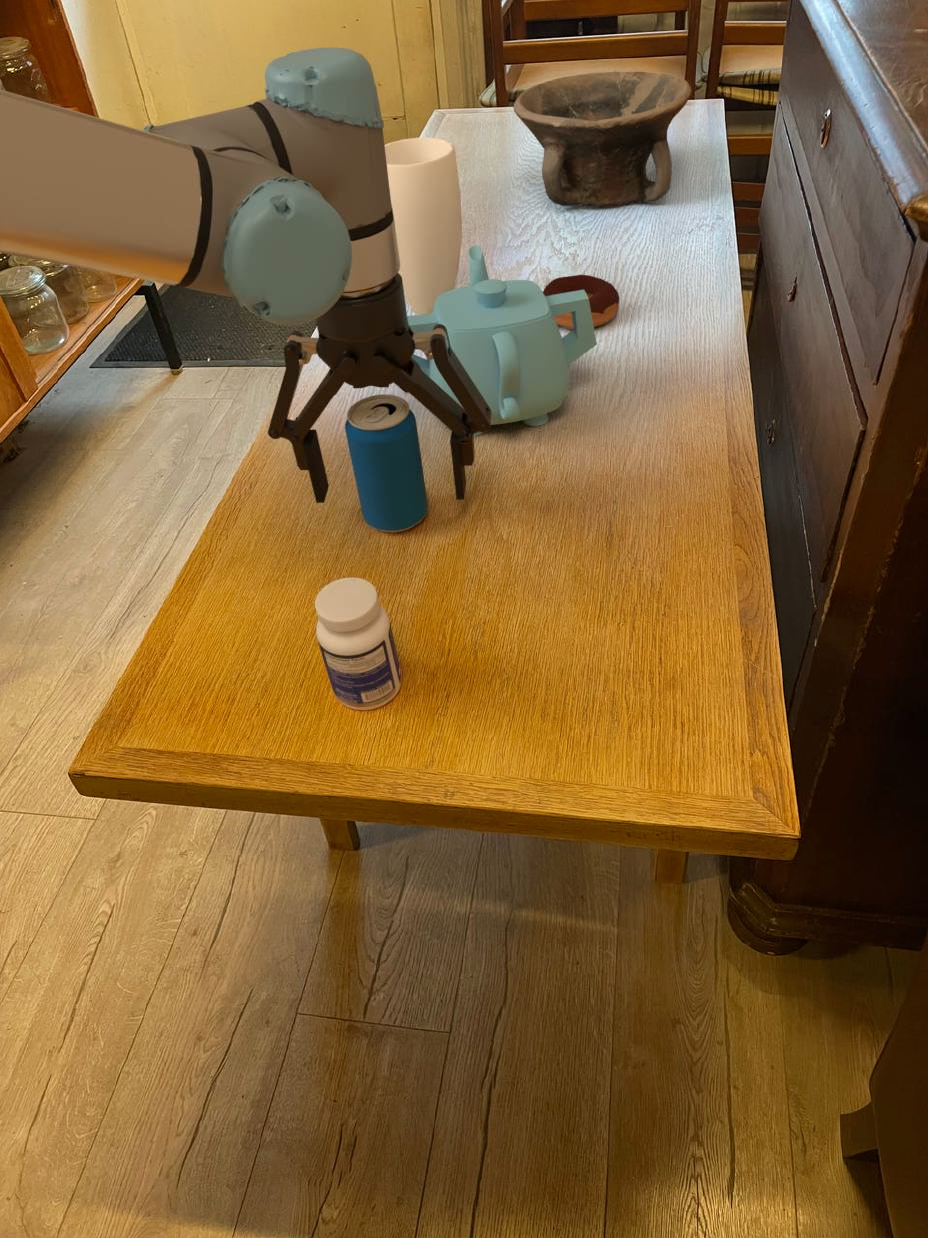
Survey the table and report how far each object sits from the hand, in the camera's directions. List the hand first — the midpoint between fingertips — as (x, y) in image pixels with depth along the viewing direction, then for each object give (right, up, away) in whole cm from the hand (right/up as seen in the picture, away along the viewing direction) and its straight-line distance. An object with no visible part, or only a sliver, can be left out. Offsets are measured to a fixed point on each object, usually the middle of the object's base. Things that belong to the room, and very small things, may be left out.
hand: (391, 493), depth 86 cm
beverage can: (0, -2, +2) cm, 3 cm away
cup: (+3, +25, +30) cm, 39 cm away
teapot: (+11, +13, +16) cm, 23 cm away
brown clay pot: (+29, +57, +58) cm, 86 cm away
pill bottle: (-1, -18, -13) cm, 22 cm away
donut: (+22, +27, +29) cm, 45 cm away
